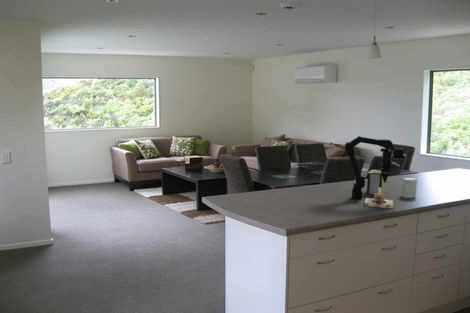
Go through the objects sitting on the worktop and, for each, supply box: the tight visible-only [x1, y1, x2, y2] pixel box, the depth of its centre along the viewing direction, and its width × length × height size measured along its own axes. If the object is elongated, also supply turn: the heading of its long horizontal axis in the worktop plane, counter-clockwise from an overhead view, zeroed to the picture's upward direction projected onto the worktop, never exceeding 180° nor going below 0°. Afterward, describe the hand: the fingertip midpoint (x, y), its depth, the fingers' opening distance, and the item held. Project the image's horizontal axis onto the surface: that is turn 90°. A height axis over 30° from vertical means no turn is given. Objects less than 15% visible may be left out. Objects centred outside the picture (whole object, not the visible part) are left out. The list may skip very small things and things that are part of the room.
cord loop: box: [373, 187, 386, 203], centre depth 319 cm, size 6×3×10 cm, turn 72°
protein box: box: [366, 169, 387, 195], centre depth 357 cm, size 10×15×16 cm
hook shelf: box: [364, 197, 394, 209], centre depth 320 cm, size 17×15×6 cm
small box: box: [400, 177, 418, 199], centre depth 345 cm, size 8×6×13 cm
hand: (385, 181), depth 332 cm, fingers open, 9 cm apart
